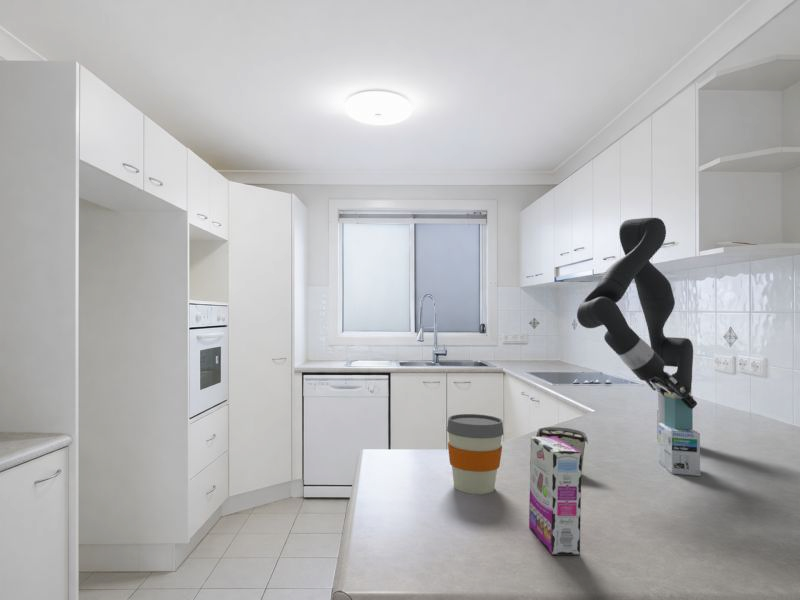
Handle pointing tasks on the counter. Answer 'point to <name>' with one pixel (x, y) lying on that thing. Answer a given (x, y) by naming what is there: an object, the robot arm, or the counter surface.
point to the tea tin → (677, 413)
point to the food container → (566, 437)
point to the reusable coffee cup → (474, 451)
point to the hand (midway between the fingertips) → (683, 403)
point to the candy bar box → (555, 495)
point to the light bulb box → (679, 450)
